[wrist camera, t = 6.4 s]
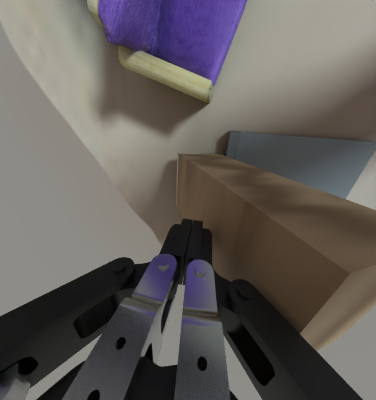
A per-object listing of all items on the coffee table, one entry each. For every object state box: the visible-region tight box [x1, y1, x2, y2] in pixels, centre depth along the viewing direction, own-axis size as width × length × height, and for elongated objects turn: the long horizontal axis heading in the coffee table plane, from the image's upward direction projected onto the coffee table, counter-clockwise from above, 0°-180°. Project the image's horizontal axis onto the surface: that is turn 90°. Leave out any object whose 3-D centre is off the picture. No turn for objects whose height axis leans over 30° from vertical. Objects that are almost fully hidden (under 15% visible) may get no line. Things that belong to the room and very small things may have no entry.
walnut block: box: [176, 153, 376, 351], centre depth 14 cm, size 6×8×18 cm
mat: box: [225, 131, 376, 199], centre depth 21 cm, size 17×14×2 cm
